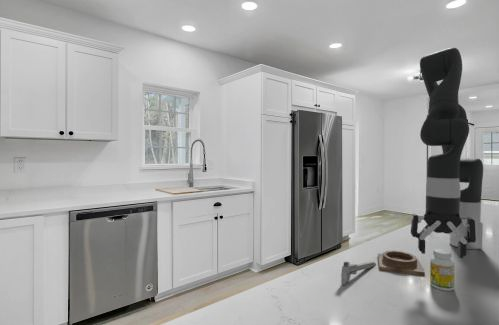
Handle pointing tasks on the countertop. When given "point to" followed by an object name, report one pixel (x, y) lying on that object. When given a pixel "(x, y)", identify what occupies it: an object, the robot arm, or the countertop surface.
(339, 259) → the countertop surface
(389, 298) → the countertop surface
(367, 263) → the caliper
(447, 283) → the supplement bottle
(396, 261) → the bottle holder
